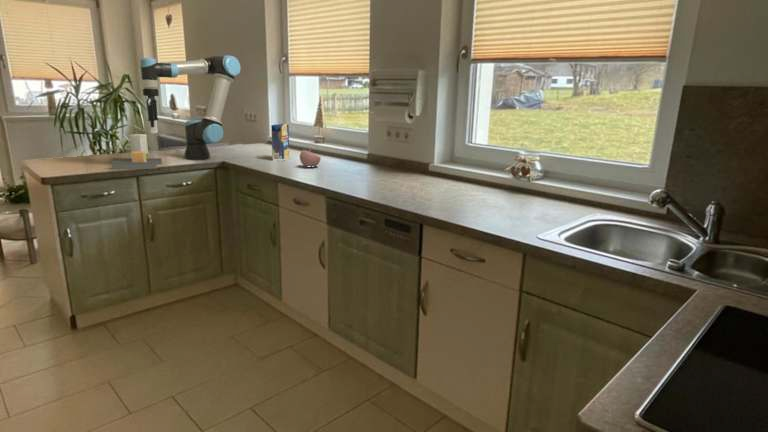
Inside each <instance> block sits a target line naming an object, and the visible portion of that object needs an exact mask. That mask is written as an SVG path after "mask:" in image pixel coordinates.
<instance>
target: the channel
mask: <svg viewBox="0 0 768 432" xmlns="http://www.w3.org/2000/svg"><path fill="white" fill-rule="evenodd" d="M146 160H147V162H132V158H129V157H128V158H127V157H125V158H122V157H121V158H118V161H117V162H116V161H113V162H110V165H111V169H113V170H116V169H117V170H119V169H120V170H121V169H122V170H126V169H127V170H130V169H132V170H133V169H135V170H136V169H139V170H140V169H141V170H143V169H146V170H147V169H148V170H149V169H150V170H151V169H158V166H157V165H163V161H162V160H163V158H161V157H160V158H158V157H157V158H156V157H153V158H152V157H151V158H146Z"/></svg>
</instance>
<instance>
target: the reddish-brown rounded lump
mask: <svg viewBox="0 0 768 432" xmlns="http://www.w3.org/2000/svg"><path fill="white" fill-rule="evenodd" d="M313 150H314V147H311V148H309V150H306V149H302V150H301V152H300V153H299V160H300V162H301V164H302V165H303V166H304V167H306V166H311V167H312V166H315V167H316V166H319V164H320V162H321V157H320V156H319V155H317V154H315V153H313V152H312V151H313ZM312 168H313V167H312Z"/></svg>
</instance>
